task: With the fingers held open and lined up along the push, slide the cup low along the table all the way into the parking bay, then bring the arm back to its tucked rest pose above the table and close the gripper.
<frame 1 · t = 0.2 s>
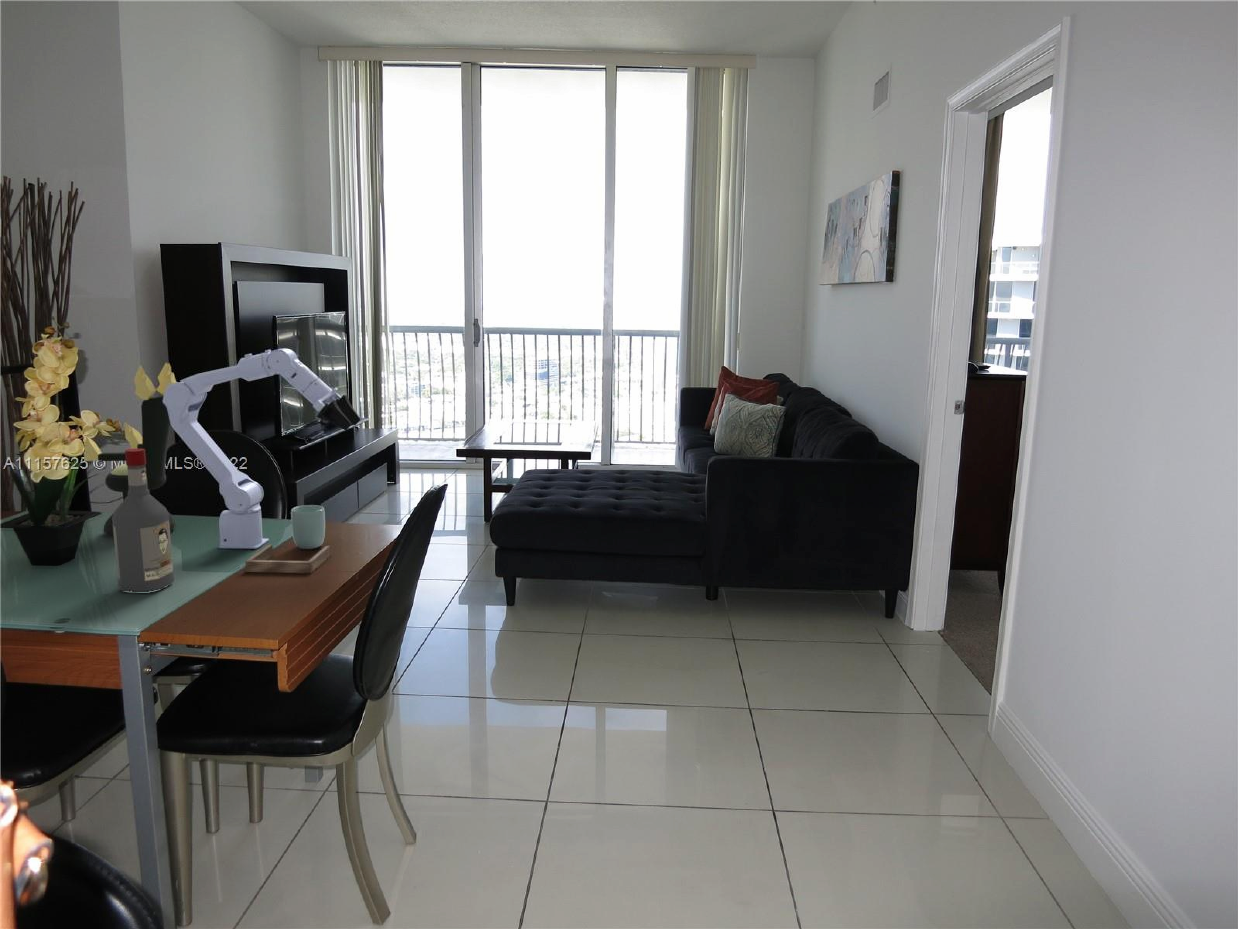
hand: (353, 424, 215), 31 cm above the table, tool tilted 45°, fingers open, 7 cm apart
cup: (309, 548, 219), on the table
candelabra: (149, 532, 230), on the table
parking bay: (290, 562, 207), on the table
liquor: (146, 588, 188), on the table
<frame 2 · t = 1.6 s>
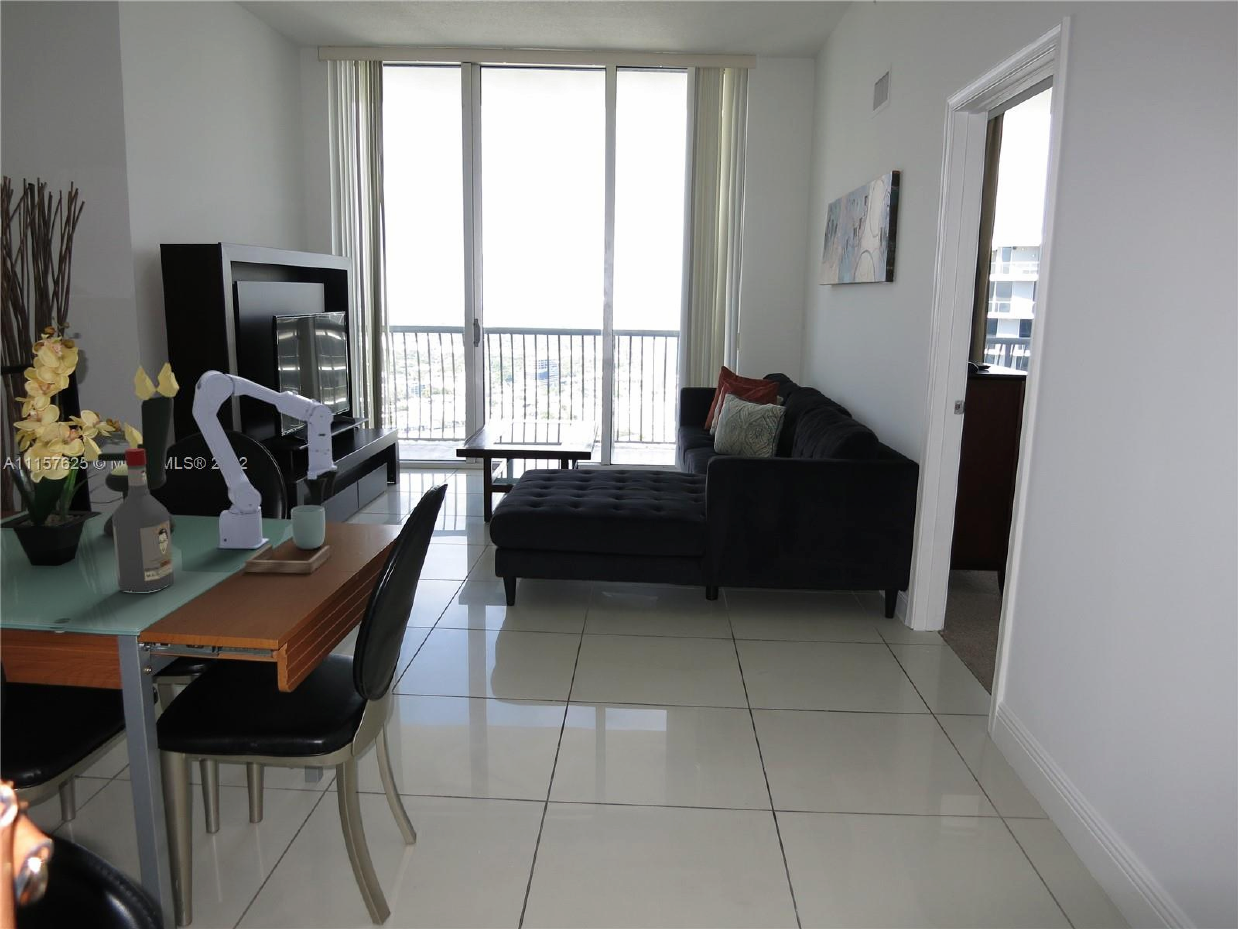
hand: (322, 500, 228), 9 cm above the table, tool pointing down, fingers open, 7 cm apart
nothing on the table moved.
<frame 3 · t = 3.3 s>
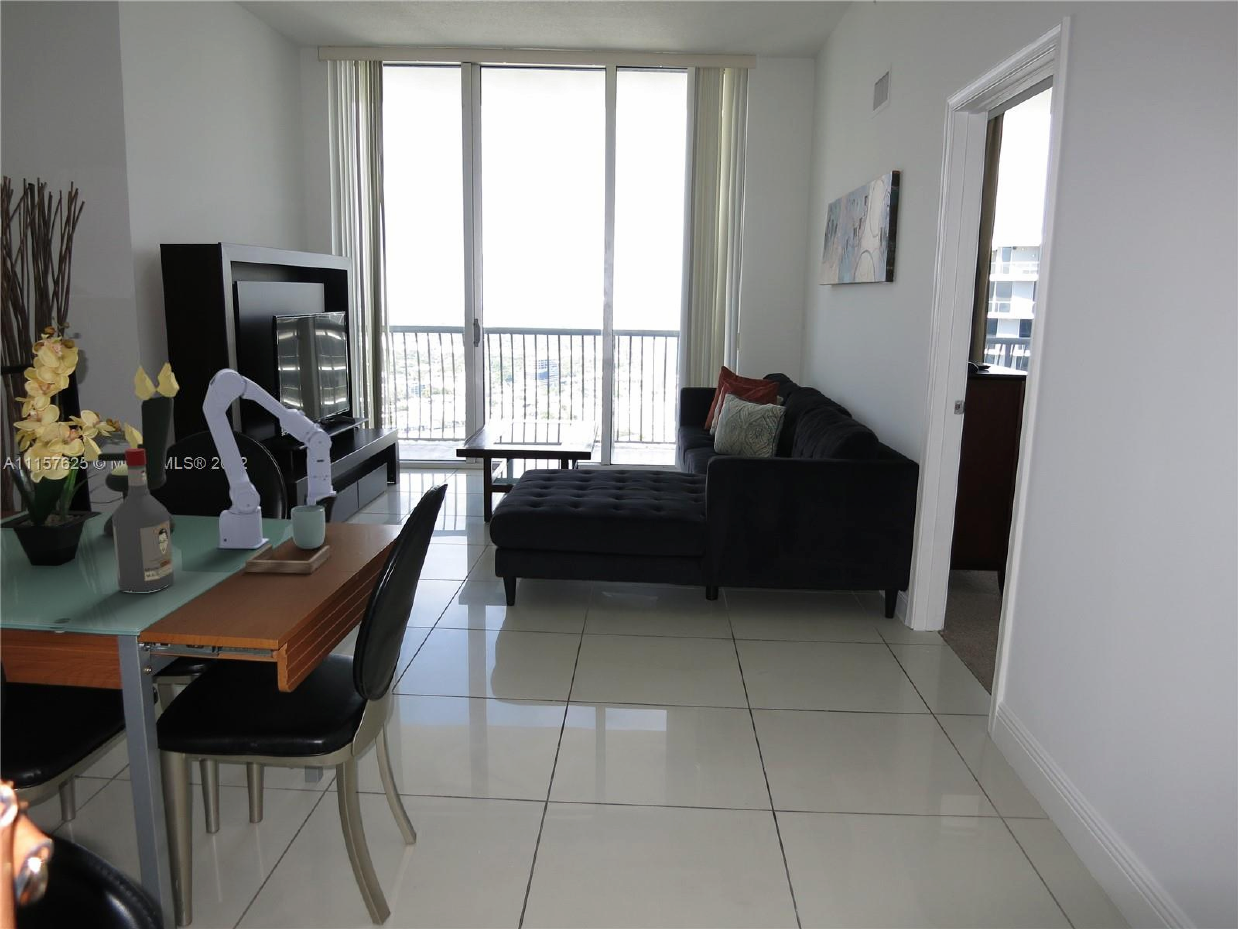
hand: (321, 526, 228), 3 cm above the table, tool pointing down, fingers open, 6 cm apart
cup: (309, 547, 219), on the table, touching gripper
everything else where it was.
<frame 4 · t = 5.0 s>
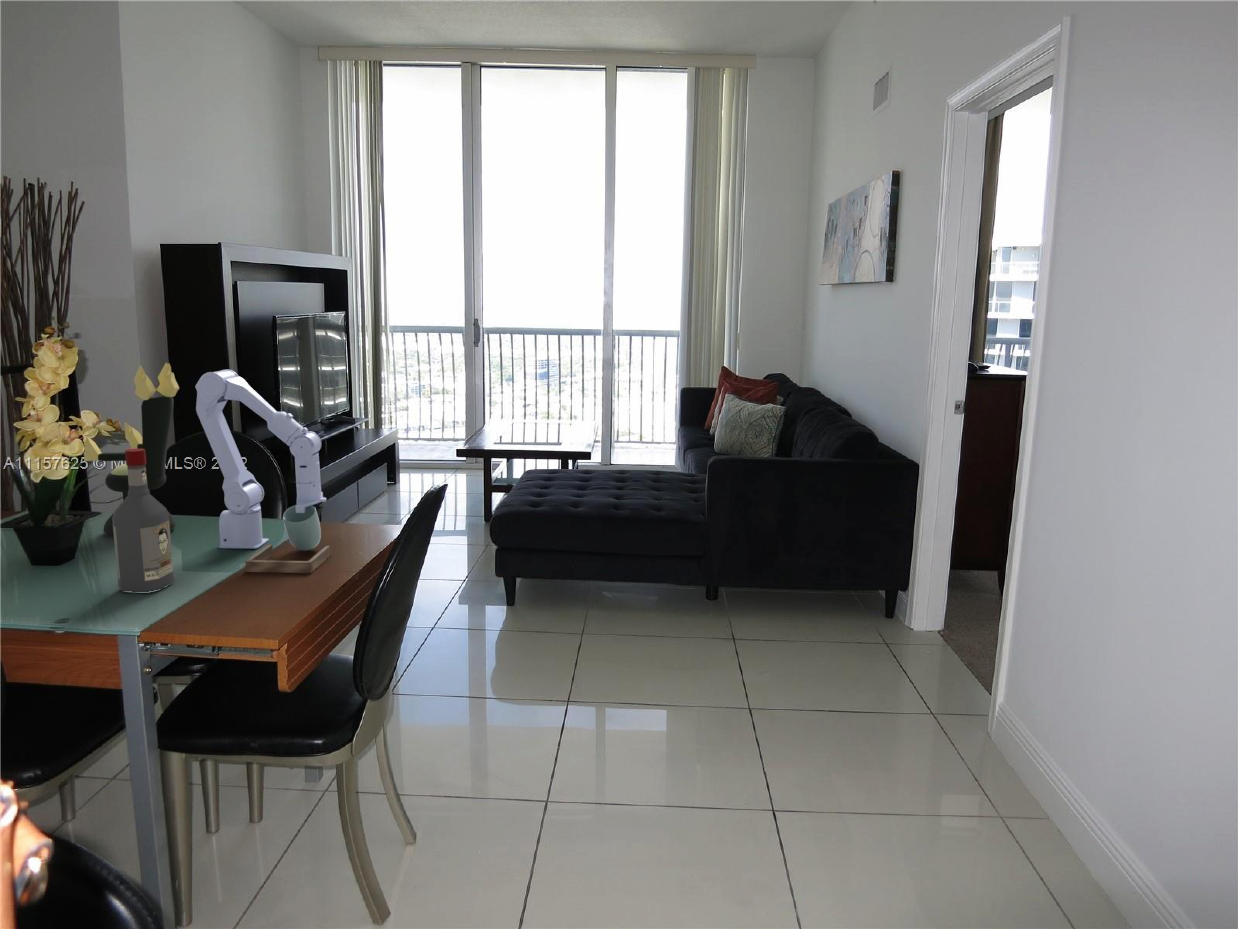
hand: (311, 533, 220), 3 cm above the table, tool pointing down, fingers closed, pressing on cup
cup: (307, 545, 217), point 1 cm above the table, touching gripper
everything else where it was.
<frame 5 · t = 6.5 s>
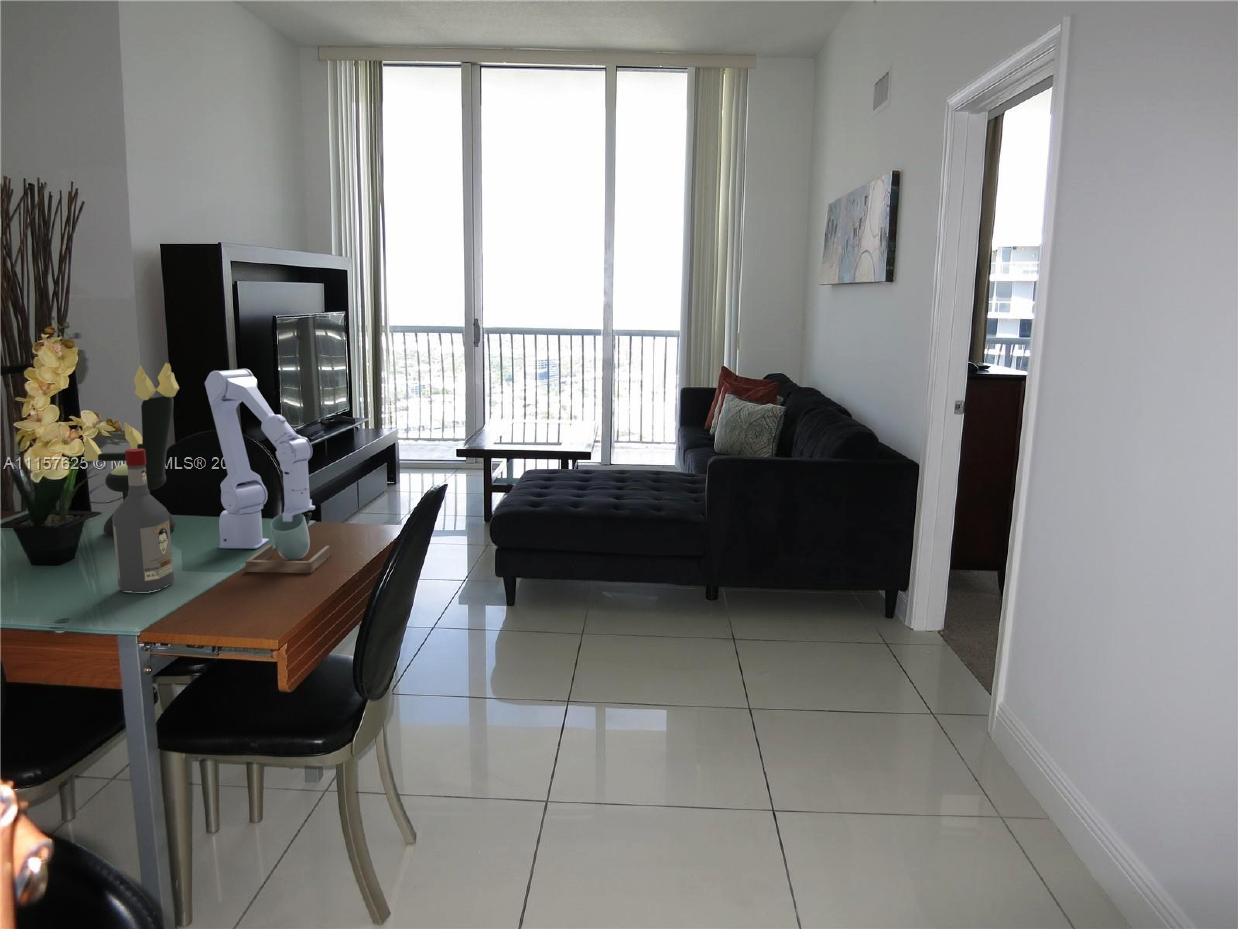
hand: (299, 543, 212), 3 cm above the table, tool pointing down, fingers closed, pressing on cup
cup: (296, 555, 209), point 1 cm above the table, touching gripper
everything else where it was.
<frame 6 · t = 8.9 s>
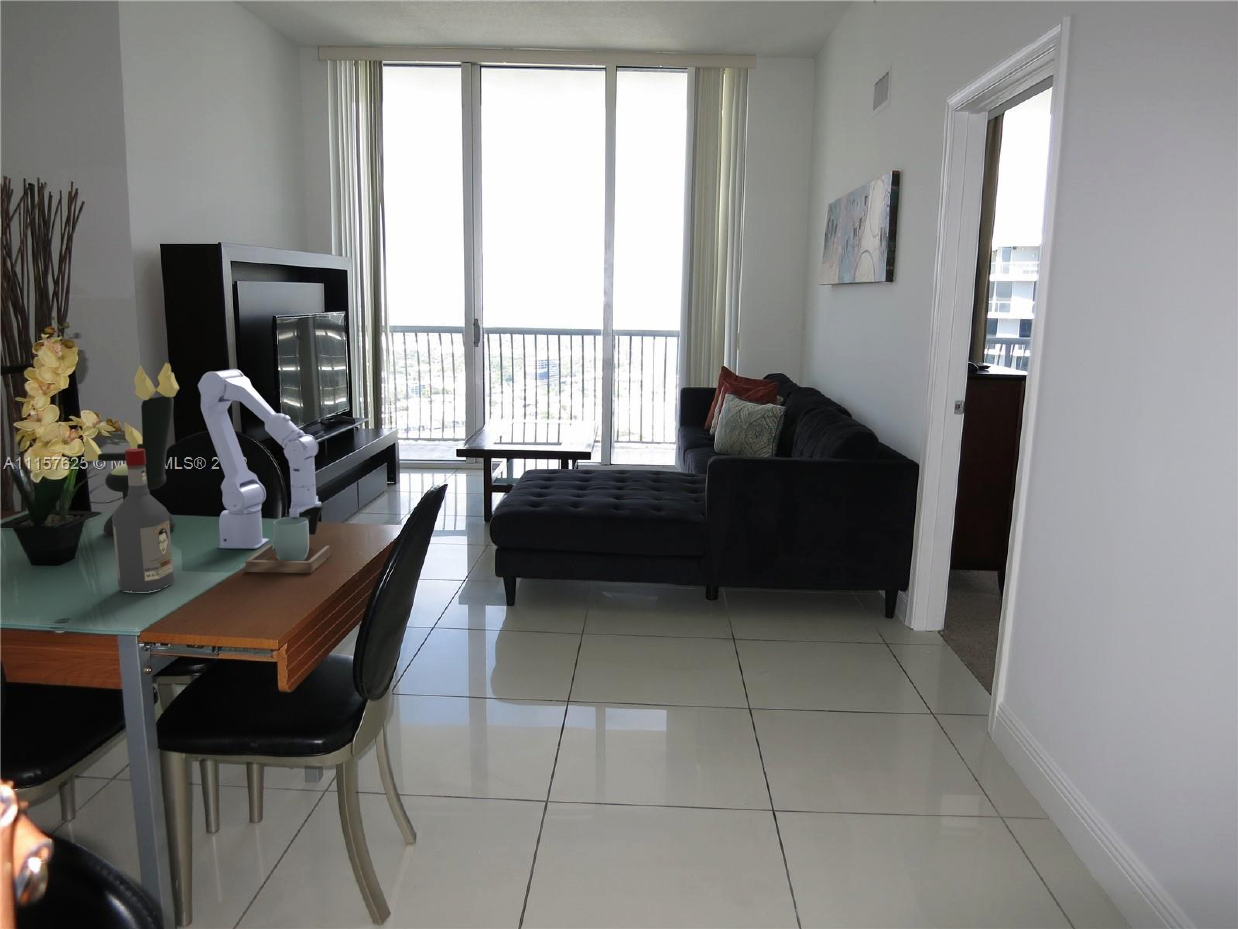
hand: (305, 538, 217), 3 cm above the table, tool pointing down, fingers open, 7 cm apart
cup: (292, 562, 207), resting in parking bay, touching gripper
everything else where it was.
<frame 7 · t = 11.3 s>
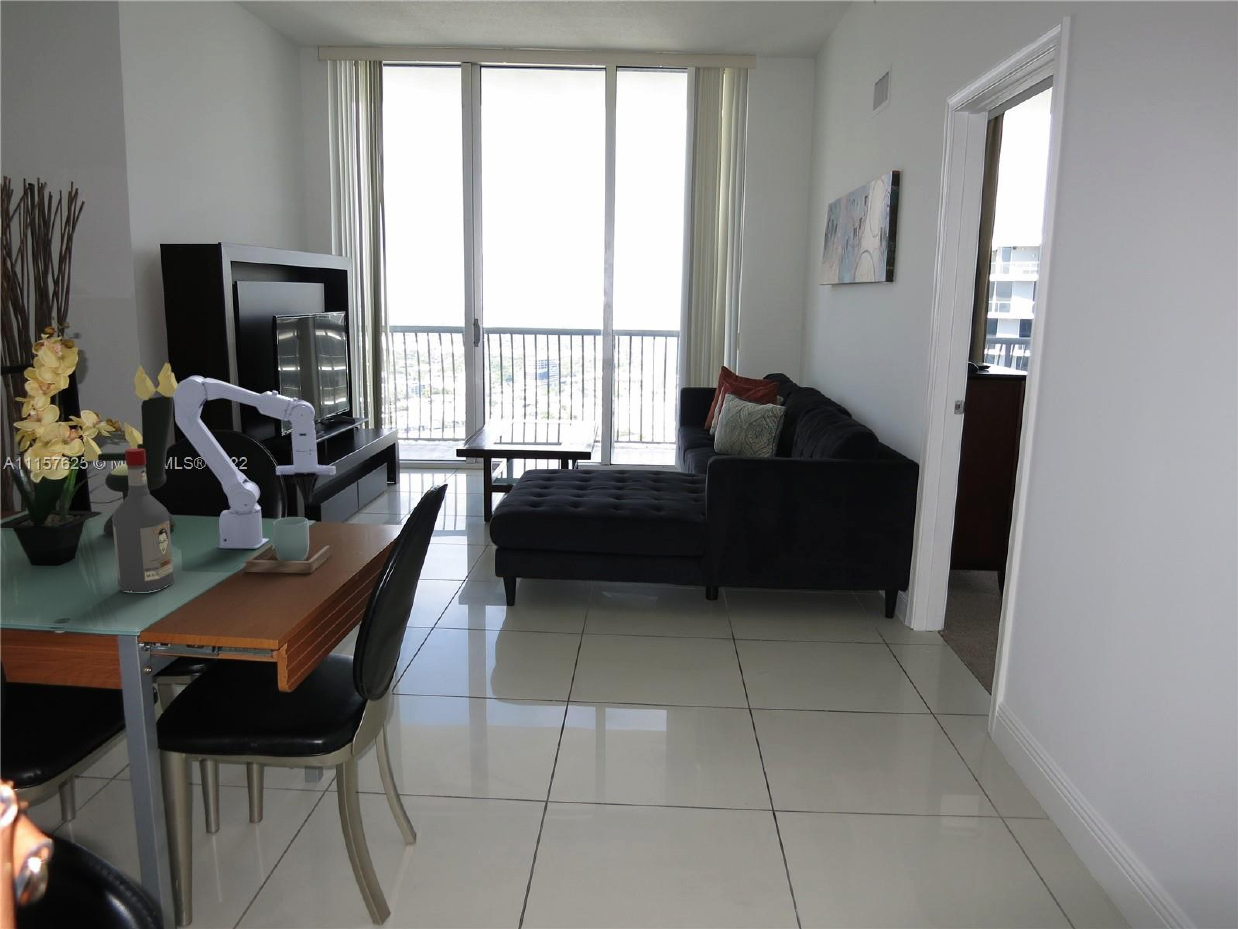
hand: (308, 502, 222), 10 cm above the table, tool pointing down, fingers closed
cup: (292, 562, 207), resting in parking bay
everything else where it was.
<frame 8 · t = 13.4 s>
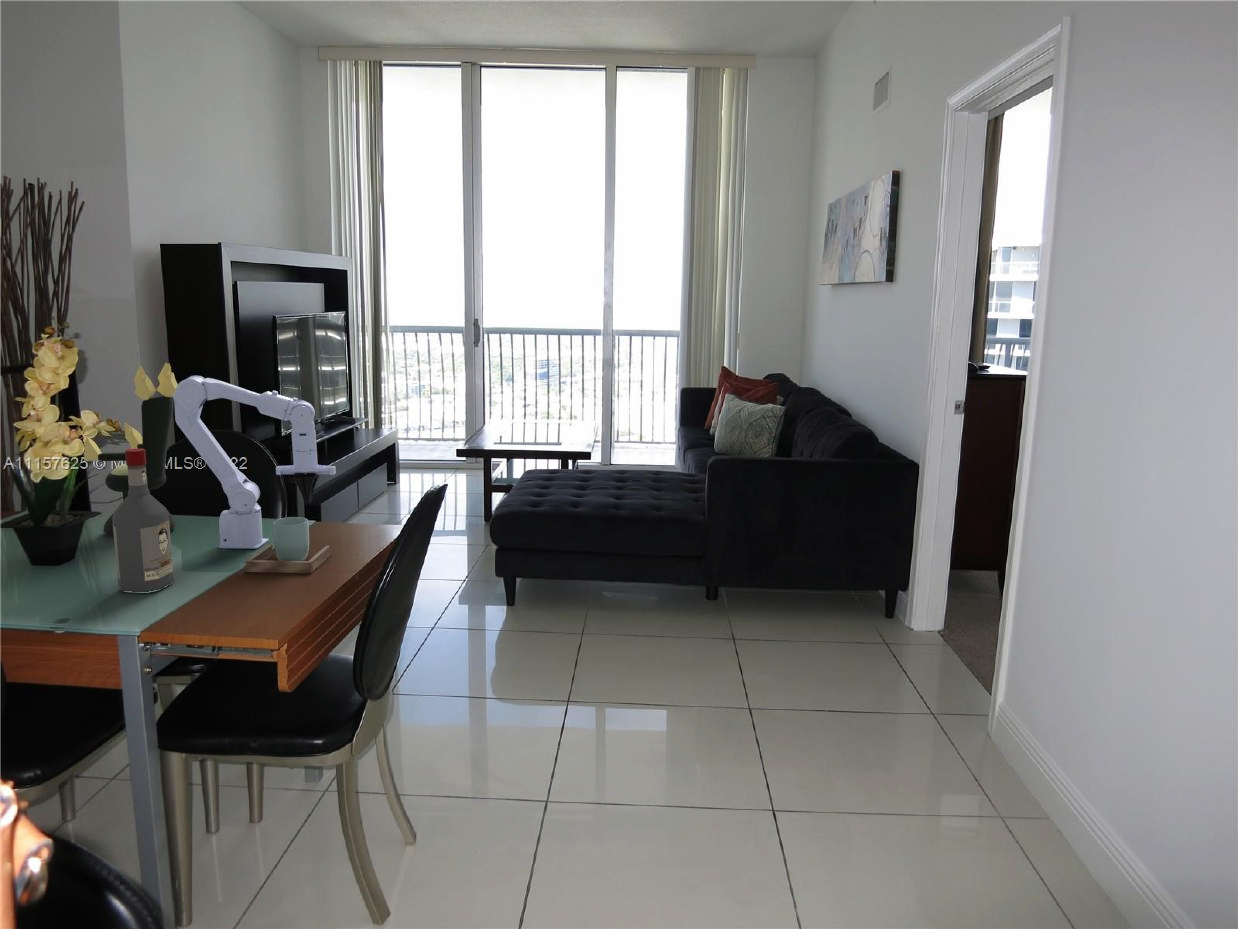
hand: (308, 502, 222), 10 cm above the table, tool pointing down, fingers closed
nothing on the table moved.
at the end: cup inside the target area on the parking bay (1.9 cm from its centre), point 0.0 cm above the parking bay's base; cup tilted 0°; the gripper is holding nothing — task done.
